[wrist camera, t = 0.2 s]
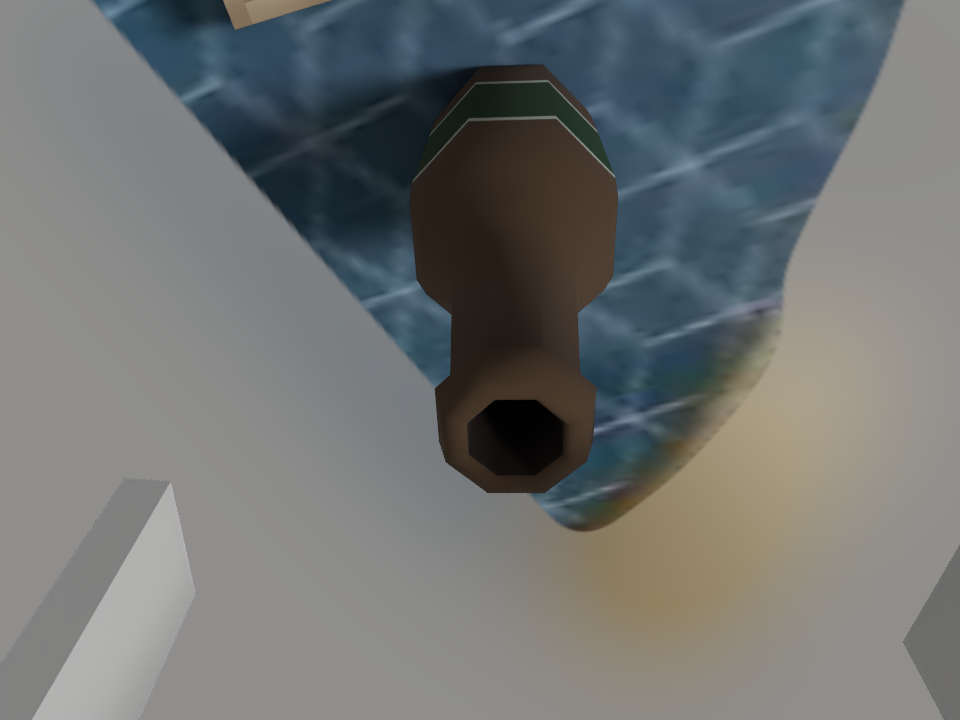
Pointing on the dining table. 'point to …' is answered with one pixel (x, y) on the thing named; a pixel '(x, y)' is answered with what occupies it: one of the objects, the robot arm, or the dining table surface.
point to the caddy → (263, 9)
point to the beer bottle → (514, 272)
